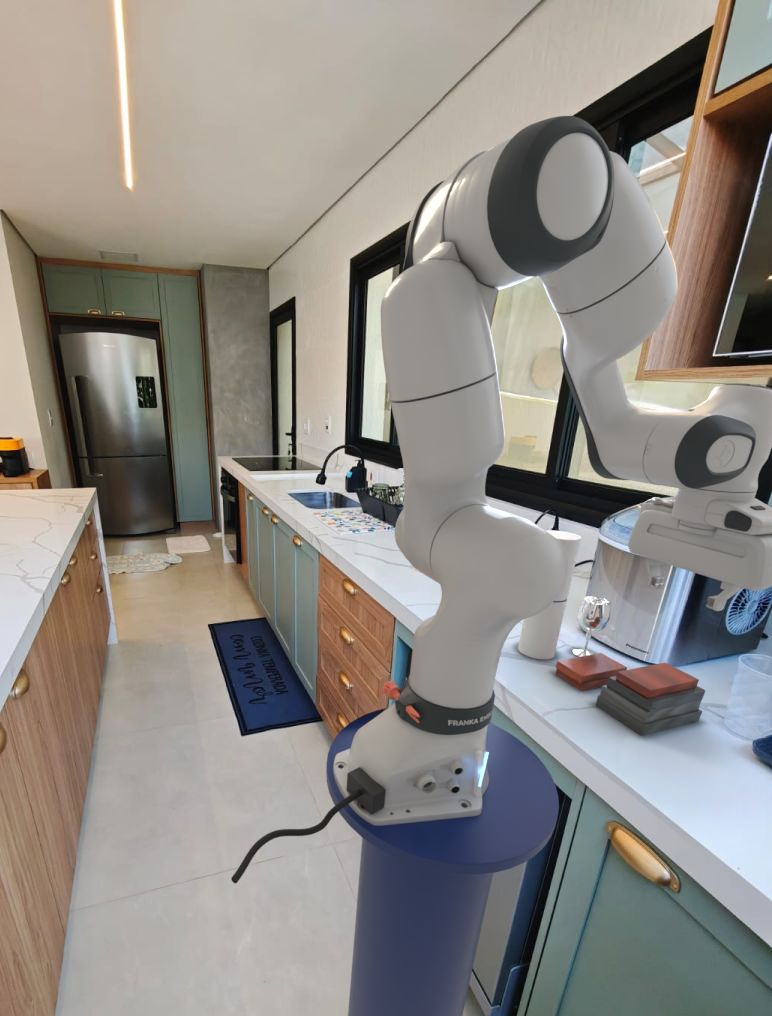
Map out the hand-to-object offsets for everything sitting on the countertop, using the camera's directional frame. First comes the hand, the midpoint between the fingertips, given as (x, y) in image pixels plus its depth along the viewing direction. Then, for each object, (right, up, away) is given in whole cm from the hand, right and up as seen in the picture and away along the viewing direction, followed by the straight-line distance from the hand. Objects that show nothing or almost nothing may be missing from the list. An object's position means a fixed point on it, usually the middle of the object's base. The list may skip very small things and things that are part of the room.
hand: (682, 597), depth 77 cm
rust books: (-4, -15, +19) cm, 24 cm away
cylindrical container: (-10, -11, +28) cm, 32 cm away
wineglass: (-1, -12, +28) cm, 30 cm away
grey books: (0, -20, +8) cm, 21 cm away
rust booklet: (0, -14, +6) cm, 15 cm away
